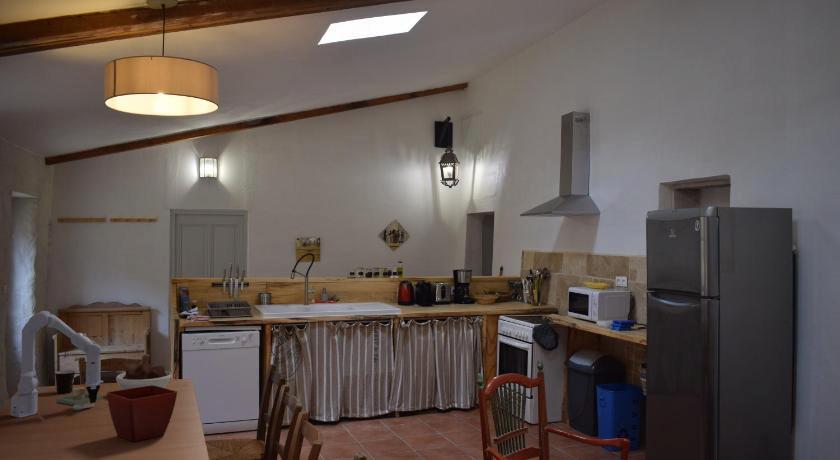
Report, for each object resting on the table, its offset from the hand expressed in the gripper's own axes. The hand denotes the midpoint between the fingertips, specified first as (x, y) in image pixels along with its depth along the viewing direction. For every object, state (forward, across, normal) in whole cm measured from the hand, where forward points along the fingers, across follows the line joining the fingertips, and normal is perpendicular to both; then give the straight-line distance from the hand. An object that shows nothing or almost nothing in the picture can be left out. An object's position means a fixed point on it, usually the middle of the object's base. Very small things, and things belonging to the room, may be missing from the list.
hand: (92, 402), depth 293 cm
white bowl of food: (+3, +22, -23) cm, 32 cm away
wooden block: (+2, +17, +5) cm, 18 cm away
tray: (+3, +17, +5) cm, 18 cm away
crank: (+2, 0, +3) cm, 4 cm away
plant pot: (+4, -51, -16) cm, 54 cm away
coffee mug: (+3, +44, +11) cm, 45 cm away
